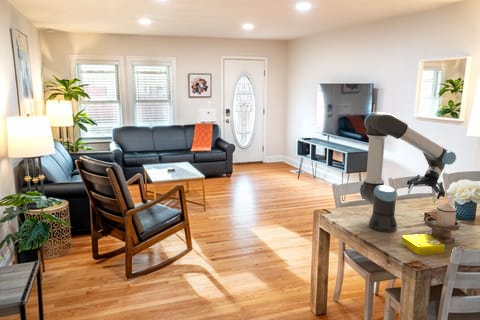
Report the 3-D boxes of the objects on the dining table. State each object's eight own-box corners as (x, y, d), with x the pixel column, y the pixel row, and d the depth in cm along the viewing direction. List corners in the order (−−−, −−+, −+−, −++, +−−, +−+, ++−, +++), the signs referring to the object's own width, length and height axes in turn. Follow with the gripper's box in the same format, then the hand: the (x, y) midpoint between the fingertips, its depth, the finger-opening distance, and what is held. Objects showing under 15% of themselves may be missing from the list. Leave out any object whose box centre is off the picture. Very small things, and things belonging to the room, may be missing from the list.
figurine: (442, 213, 237) (444, 190, 234) (443, 209, 245) (445, 187, 242) (455, 215, 233) (457, 192, 231) (456, 211, 241) (458, 188, 238)
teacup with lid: (454, 223, 199) (457, 202, 197) (455, 228, 191) (457, 206, 189) (429, 219, 205) (431, 199, 202) (429, 224, 197) (431, 203, 194)
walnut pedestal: (430, 243, 193) (431, 226, 191) (419, 231, 208) (421, 215, 206) (463, 244, 190) (465, 227, 189) (450, 232, 206) (452, 217, 204)
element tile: (426, 241, 196) (426, 232, 195) (446, 253, 182) (447, 244, 181) (399, 243, 194) (400, 234, 193) (417, 255, 179) (418, 246, 178)
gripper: (453, 187, 217) (443, 209, 204) (409, 173, 229) (397, 193, 216) (457, 177, 212) (447, 199, 199) (411, 163, 225) (399, 183, 212)
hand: (421, 196), depth 208 cm, fingers open, 13 cm apart
